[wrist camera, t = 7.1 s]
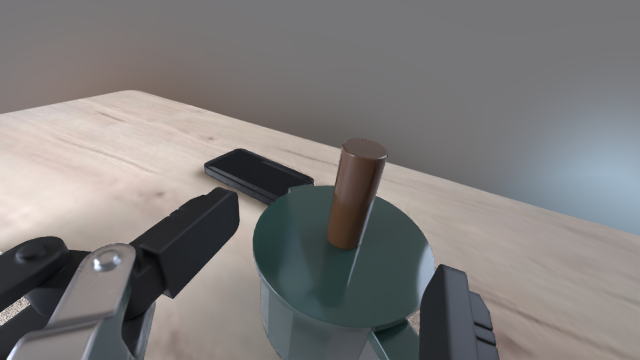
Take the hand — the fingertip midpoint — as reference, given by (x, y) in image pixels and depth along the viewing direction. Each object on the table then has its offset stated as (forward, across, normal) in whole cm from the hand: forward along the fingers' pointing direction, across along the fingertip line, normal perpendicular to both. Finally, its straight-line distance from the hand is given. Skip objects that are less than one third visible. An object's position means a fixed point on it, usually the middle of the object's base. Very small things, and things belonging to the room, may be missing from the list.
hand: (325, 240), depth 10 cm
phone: (+21, +16, +14) cm, 30 cm away
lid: (+6, 0, +6) cm, 9 cm away
